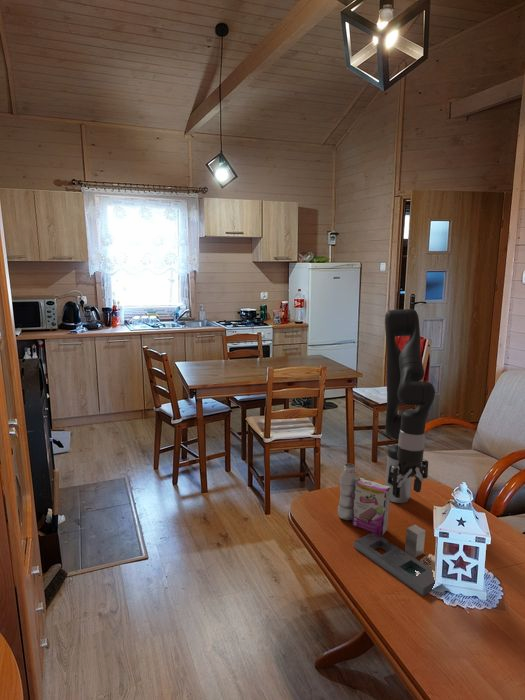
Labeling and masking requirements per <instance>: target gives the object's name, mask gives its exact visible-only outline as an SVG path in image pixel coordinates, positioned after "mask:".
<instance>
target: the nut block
mask: <svg viewBox="0 0 525 700" xmlns="http://www.w3.org/2000/svg"><path fill="white" fill-rule="evenodd" d="M426 532H427V531H426V530H425V529H424V528H422V527H420V526H419V525H417V524H413V525H410V526H408V527H406V533H405V534H406V536H405V545H404V546H405V547H404V551H405V552H406V553H408V554H409V555H411V556H412V557H414V558H415V559H417V556H418V557H419V556H421V555H422V554H424V550H425V539H426Z"/></svg>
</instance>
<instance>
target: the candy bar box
mask: <svg viewBox="0 0 525 700" xmlns="http://www.w3.org/2000/svg"><path fill="white" fill-rule="evenodd" d="M390 490H391V487H389V486H386V485H385V484H382V483H379V482H375V481H372V480H369V479H366V478H363V477H358V481H356V482H355V492H354V505H353V518H352V520H351V526H353V527H356V528H358V529H362V530H365V531H367V532H368V533H369V532H370V533H372V532H375V533H377V534H378V535H380V536H381V537H383V536H384V535H385V533H386V532H387V530H388V523H389V522H388V521H389V509H390V502H391V501H390Z"/></svg>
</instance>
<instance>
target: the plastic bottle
mask: <svg viewBox="0 0 525 700" xmlns="http://www.w3.org/2000/svg"><path fill="white" fill-rule="evenodd" d="M343 466H344V467H343V472H342V473H341V474H340V475H339V480H338V481H339V503H338V506H337V515H338V517H339V518H341V520H344V521H352V518H353V505H354V492H355V482H356V481H358V480H359V477H358V476H357V474H356V473H355V472H356V465H355V464H353V463H345V464H344V465H343Z"/></svg>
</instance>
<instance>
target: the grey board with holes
mask: <svg viewBox="0 0 525 700" xmlns="http://www.w3.org/2000/svg"><path fill="white" fill-rule="evenodd" d="M353 543H354V544H353V547H354V549H355V550H357V551H358V552H359V553H361V554H362V555H364V556H365V557H367V558H368V559H369V560H370V561H373V563H375V564H376V565H378V566H380V567H381V568H382V569H383V570H385V571H386V572H387V573H389V574H390V575H392V576H393V577H395V578H396V579H398V580H399V581H400V582H402V583H403V584H404V585H406V586H407V587H409V588H410V589H412V591H414V592H416V593H417V594H419V596H421V597H424V596H426V595H427V594H429V593H431V592H432V591H433V590H432V588H433V586H434V584H435V580H434V577H433V572H432V568H431V567H429V566H427V564H425V563H423V562H421V560H419V559H417V558H415V557H413V556H412V555H410V554H409V553H407V552H406V551H405V550H403V549H401V548H400V547H398V546H397V545H395V544H393V543H392V542H390V541H389V540H388V539H386V538H384V537H383V536H381V535H378V534H377V533H375V532H370V533H368V534H366V535H362V536H361V537H359V538H357V539H355V540H354V542H353ZM379 548H380V549H382V550H384V551H385V553H383V554H382V553H380V552H378V551H377V550H376V549H379ZM415 570H416V571H419V572H420V573H421V574H419V575H418V576H416V574H415V573H416V572H415ZM431 590H432V591H431Z"/></svg>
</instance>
